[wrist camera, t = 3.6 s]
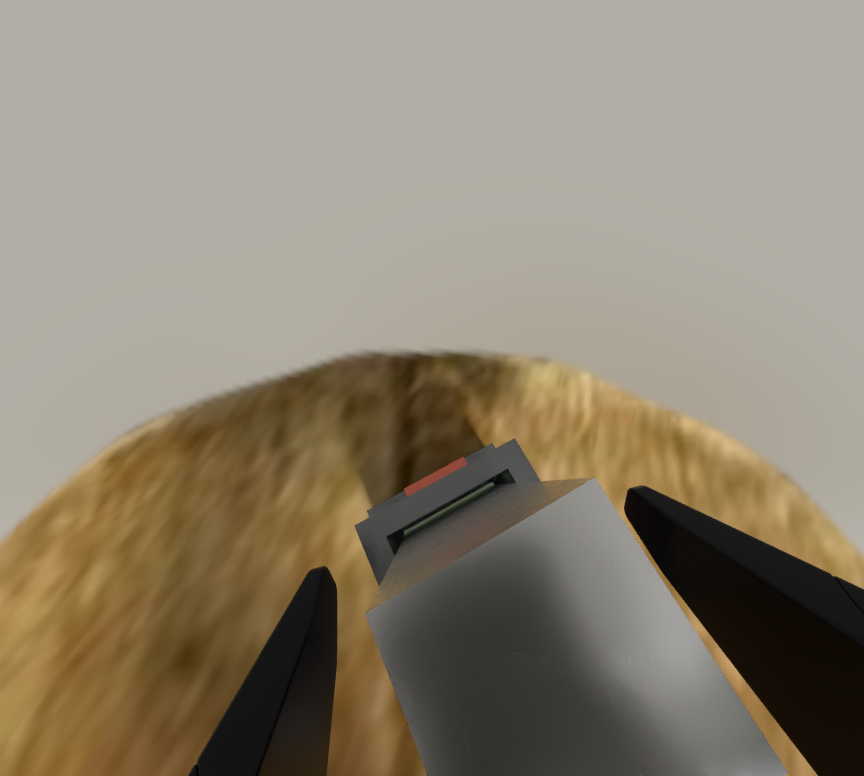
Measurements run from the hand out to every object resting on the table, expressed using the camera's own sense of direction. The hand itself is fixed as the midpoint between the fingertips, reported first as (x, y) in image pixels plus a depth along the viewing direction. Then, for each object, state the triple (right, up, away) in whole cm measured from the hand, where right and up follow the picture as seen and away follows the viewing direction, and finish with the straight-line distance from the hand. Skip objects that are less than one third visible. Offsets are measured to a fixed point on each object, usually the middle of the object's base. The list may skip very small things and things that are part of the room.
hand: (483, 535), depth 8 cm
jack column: (0, -3, +6) cm, 7 cm away
